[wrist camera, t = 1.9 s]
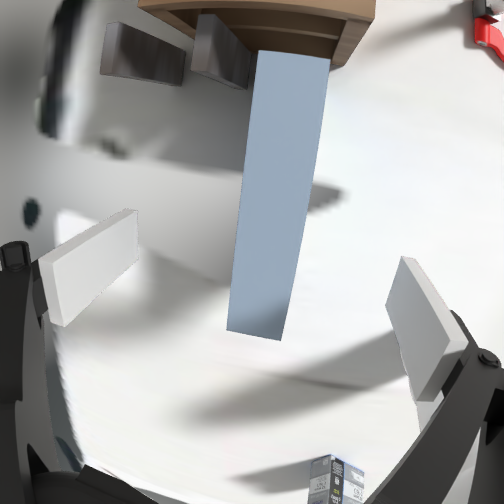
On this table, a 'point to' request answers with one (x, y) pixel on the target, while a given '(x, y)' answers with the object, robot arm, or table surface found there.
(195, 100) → the table surface
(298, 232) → the door
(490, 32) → the tow hook
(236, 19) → the cabinet
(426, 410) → the water bottle
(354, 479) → the label tape box
